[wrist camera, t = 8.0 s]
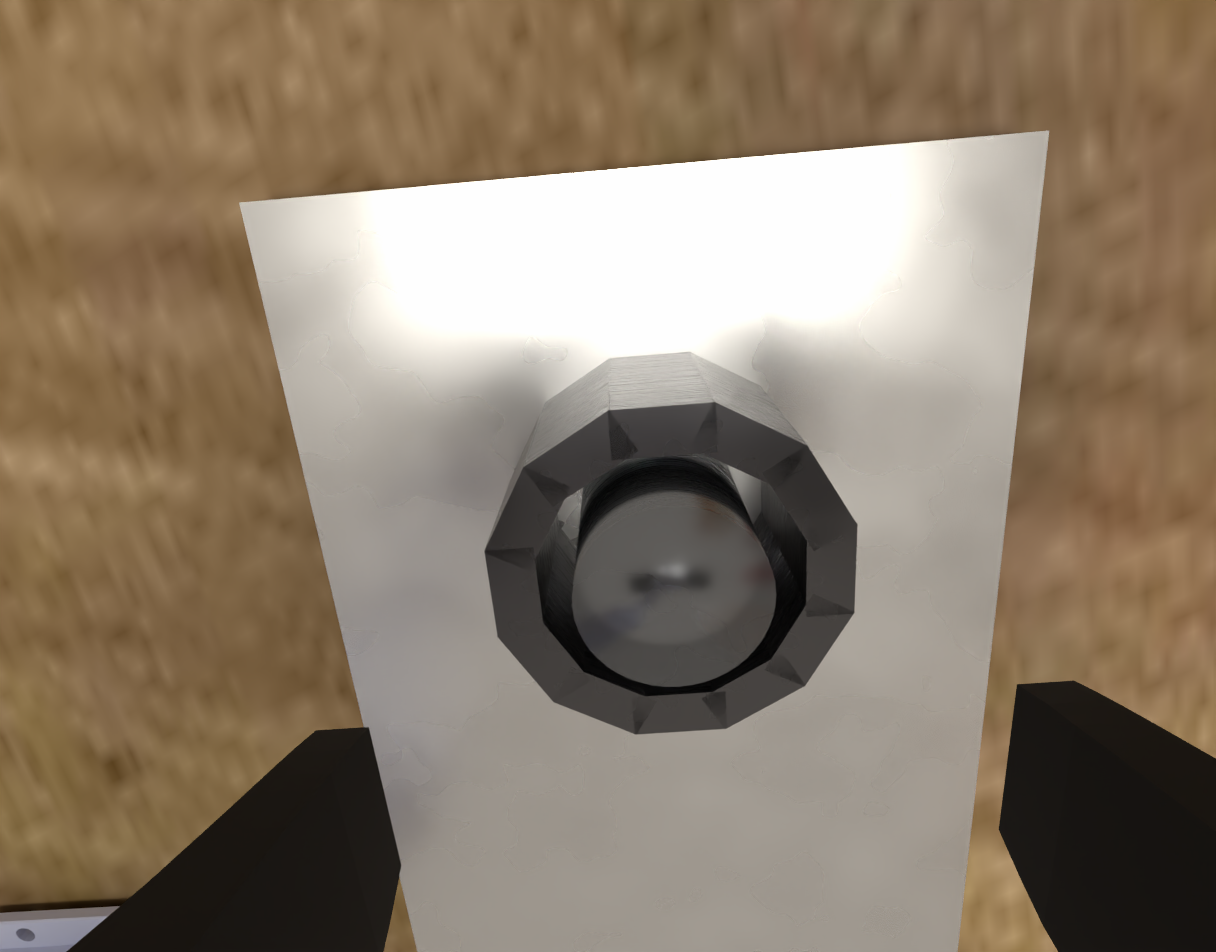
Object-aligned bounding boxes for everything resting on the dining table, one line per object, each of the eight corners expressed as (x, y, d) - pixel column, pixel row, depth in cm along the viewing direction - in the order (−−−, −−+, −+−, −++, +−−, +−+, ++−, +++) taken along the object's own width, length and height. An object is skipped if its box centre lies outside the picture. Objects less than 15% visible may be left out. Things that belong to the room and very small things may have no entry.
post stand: (434, 943, 22) (377, 1182, 17) (267, 202, 15) (73, 203, 10) (939, 917, 22) (1047, 1154, 16) (1015, 136, 15) (1255, 96, 9)
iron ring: (535, 624, 17) (513, 742, 13) (500, 366, 15) (463, 421, 11) (797, 606, 17) (851, 721, 13) (799, 342, 15) (862, 390, 11)
